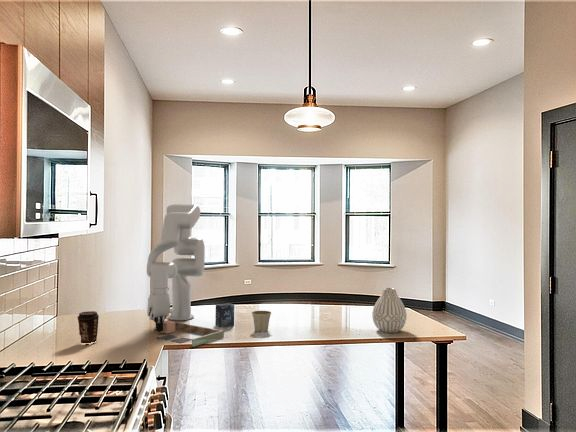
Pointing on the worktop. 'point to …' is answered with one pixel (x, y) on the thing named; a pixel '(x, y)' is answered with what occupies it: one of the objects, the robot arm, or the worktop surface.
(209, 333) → the shallow rectangular tray
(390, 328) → the vase
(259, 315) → the flower pot
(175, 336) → the mats
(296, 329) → the worktop surface
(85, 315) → the coffee cup
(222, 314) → the box
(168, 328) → the block
